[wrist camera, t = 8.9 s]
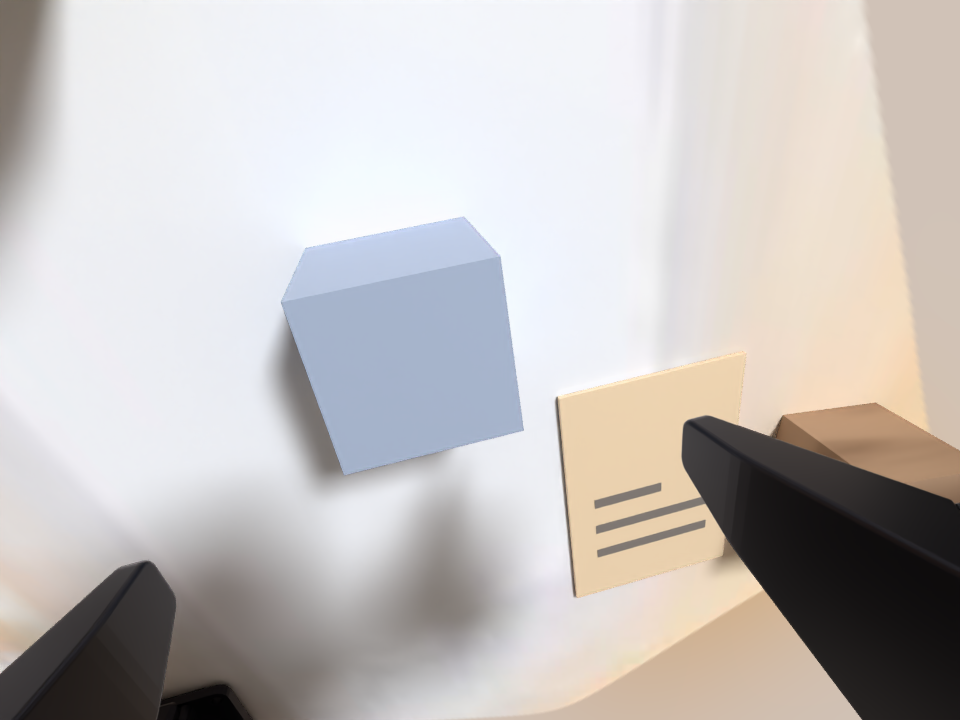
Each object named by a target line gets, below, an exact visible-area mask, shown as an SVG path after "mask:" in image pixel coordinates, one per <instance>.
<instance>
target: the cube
mask: <svg viewBox="0 0 960 720" xmlns="http://www.w3.org/2000/svg"><path fill="white" fill-rule="evenodd" d="M281 304H282V307H283V309H284V312H285V315H286V318H287V320H288V323H289V326H290V329H291V331H292V334H293V337H294V340H295V342H296V345H297V348H298V350H299V353H300V356H301V359H302V361H303V364H304V367H305V370H306V372H307V375H308V378H309V381H310V383H311V386H312V389H313V391H314V394H315V397H316V400H317V402H318V405H319V408H320V411H321V413H322V416H323V419H324V422H325V424H326V427H327V430H328V432H329V435H330V438H331V441H332V443H333V446H334V449H335V452H336V454H337V457H338V460H339V463H340V465H341V468H342V471H343V474H344V475H348V474H352V473H356V472H360V471H364V470H368V469H372V468H376V467H380V466H384V465H388V464H392V463H396V462H400V461H404V460H408V459H412V458H416V457H420V456H424V455H428V454H432V453H436V452H440V451H444V450H448V449H452V448H456V447H460V446H464V445H468V444H472V443H476V442H480V441H484V440H488V439H492V438H496V437H500V436H504V435H508V434H512V433H516V432H520V431H524V428H523V421H522V413H521V406H520V399H519V391H518V384H517V376H516V369H515V361H514V354H513V347H512V339H511V332H510V324H509V317H508V309H507V302H506V295H505V287H504V280H503V272H502V265H501V257H500V255H499V254H498V253H497V252H496V251H495V250H494V249H493V248H492V247H491V245H490V244H489V243H488V242H487V241H486V240H485V239H484V238H483V237H482V236H481V235H480V234H479V232H478V231H477V230H476V229H475V228H474V227H473V226H472V225H471V224H470V223H469V222H468V220H467V219H466V218H465V217H460V218H455V219H450V220H445V221H440V222H434V223H429V224H424V225H419V226H414V227H409V228H404V229H399V230H394V231H389V232H384V233H379V234H374V235H369V236H364V237H359V238H354V239H349V240H344V241H339V242H334V243H329V244H324V245H319V246H314V247H309V248H305V250H304V253H303V255H302V257H301V259H300V261H299V263H298V266H297V268H296V270H295V272H294V274H293V277H292V279H291V281H290V283H289V285H288V288H287V290H286V292H285V294H284V296H283V298H282V301H281Z"/></svg>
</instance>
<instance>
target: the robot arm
mask: <svg viewBox="0 0 960 720" xmlns="http://www.w3.org/2000/svg"><path fill="white" fill-rule="evenodd" d="M681 458H682V463H683V466H684V469H685V471H686V472H687V474H688V476H689V477H690V479H691V481H692V482H693V484H694V486H695V487H696V489H697V491H698V492H699V494H700V496H701V497H702V499H703V501H704V502H705V504H706V506H707V507H708V509H709V511H710V512H711V514H712V516H713V517H714V519H715V521H716V522H717V524H718V525H719V527H720V529H721V530H722V532H723V534H724V535H725V537H726V538H727V540H728V541H729V543H730V544H731V546H732V547H733V549H734V550H735V551H736V553H737V554H738V556H739V557H740V558H741V560H742V561H743V562H744V564H745V565H746V566H747V568H748V569H749V570H750V572H751V573H752V574H753V576H754V577H755V578H756V580H757V581H758V582H759V584H760V585H761V586H762V588H763V589H764V590H765V592H766V593H767V594H768V595H769V597H770V598H771V599H772V601H773V602H774V603H775V605H776V606H777V607H778V609H779V610H780V611H781V613H782V614H783V615H784V617H785V618H786V619H787V621H788V622H789V623H790V625H791V626H792V627H793V629H794V630H795V631H796V633H797V634H798V635H799V637H800V638H801V639H802V641H803V642H804V643H805V645H806V646H807V647H808V649H809V650H810V651H811V653H812V654H813V655H814V656H815V658H816V659H817V661H818V662H819V663H820V664H821V666H822V667H823V668H824V670H825V671H826V672H827V674H828V675H829V676H830V678H831V679H832V680H833V682H834V683H835V684H836V686H837V687H838V688H839V690H840V691H841V692H842V694H843V695H844V696H845V698H846V699H847V700H848V702H849V703H850V704H851V706H852V707H853V708H854V710H855V711H856V712H857V713H858V715H859V716H860V717H861V719H862V720H960V503H954V502H953V501H952V500H950V499H948V498H945V497H942V496H939V495H936V494H933V493H931V492H928V491H925V490H922V489H919V488H916V487H913V486H911V485H908V484H905V483H902V482H899V481H896V480H893V479H890V478H888V477H885V476H882V475H879V474H876V473H873V472H870V471H867V470H865V469H862V468H859V467H856V466H853V465H850V464H847V463H845V462H842V461H839V460H836V459H833V458H830V457H827V456H824V455H822V454H819V453H816V452H813V451H810V450H807V449H804V448H802V447H799V446H796V445H793V444H790V443H787V442H784V441H781V440H779V439H776V438H773V437H770V436H767V435H764V434H761V433H758V432H756V431H753V430H750V429H747V428H744V427H741V426H738V425H736V424H733V423H730V422H727V421H724V420H721V419H718V418H715V417H713V416H709V415H704V416H700V417H696V418H692V419H688V420H687V421H685V423H684V425H683V432H682V452H681ZM175 612H176V598H175V595H174V593H173V591H172V589H171V588H170V586H169V585H168V583H167V582H166V580H165V579H164V577H163V576H162V574H161V573H160V571H159V570H158V568H157V567H156V566H155V564H154V563H152V562H151V561H140V562H136V563H132V564H128V565H125V566H122V567H120V568H118V569H116V570H115V571H114V572H113V573H112V574H111V575H110V576H108V577H107V578H106V579H105V580H104V581H103V582H102V583H101V584H100V585H98V586H97V587H96V588H95V589H94V590H93V591H92V592H91V593H90V594H88V595H87V596H86V597H85V598H84V599H83V600H82V601H81V602H80V603H78V604H77V605H76V606H75V607H74V608H73V609H72V610H71V611H70V612H68V613H67V614H66V615H65V616H64V617H63V618H62V619H61V620H60V621H58V622H57V623H56V624H55V625H54V626H53V627H52V628H51V629H50V630H48V631H47V632H46V633H45V634H44V635H43V636H42V637H41V638H40V639H38V640H37V641H36V642H35V643H34V644H33V645H32V646H31V647H30V648H28V649H27V650H26V651H25V652H24V653H23V654H22V655H21V656H20V657H18V658H17V659H16V660H15V661H14V662H13V663H12V664H11V665H10V666H8V667H7V668H6V669H5V670H4V671H3V672H2V673H1V674H0V720H252V719H251V717H250V716H249V714H248V713H247V712H246V710H245V709H244V707H243V706H242V704H241V703H240V701H239V700H238V698H237V697H236V696H235V694H234V693H233V691H232V690H231V688H229V687H228V686H226V685H215V686H212V687H208V688H205V689H201V690H198V691H194V692H191V693H187V694H184V695H180V696H177V697H173V698H170V699H166V700H163V701H161V698H162V692H163V686H164V680H165V674H166V668H167V662H168V655H169V649H170V643H171V637H172V631H173V625H174V618H175Z"/></svg>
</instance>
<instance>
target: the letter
mask: <svg viewBox="0 0 960 720" xmlns="http://www.w3.org/2000/svg"><path fill="white" fill-rule="evenodd" d="M745 361H746V353H745V352H743V351H742V352H738V353H734V354H730V355H726V356H722V357H718V358H714V359H709V360H705V361H701V362H697V363H693V364H689V365H685V366H681V367H677V368H673V369H668V370H664V371H660V372H656V373H652V374H648V375H644V376H640V377H636V378H632V379H628V380H623V381H619V382H615V383H611V384H607V385H603V386H599V387H595V388H591V389H587V390H582V391H578V392H574V393H570V394H566V395H562V396H558V408H559V419H560V430H561V441H562V451H563V462H564V473H565V484H566V495H567V506H568V517H569V528H570V539H571V549H572V560H573V571H574V582H575V593H576V597H577V598H580V597H583V596H587V595H590V594H594V593H597V592H600V591H604V590H607V589H611V588H614V587H618V586H621V585H624V584H628V583H631V582H635V581H638V580H642V579H645V578H648V577H652V576H655V575H659V574H662V573H666V572H669V571H672V570H676V569H679V568H683V567H686V566H690V565H693V564H696V563H700V562H703V561H707V560H710V559H714V558H717V557H720V556H723V551H724V542H725V535H724V534H723V532H722V530H721V529H720V527H719V525H718V524H717V522H716V521H715V519H714V517H713V516H712V514H711V512H710V511H709V509H708V507H707V506H706V504H705V502H704V501H703V499H702V497H701V496H700V494H699V492H698V491H697V489H696V487H695V486H694V484H693V482H692V481H691V479H690V477H689V476H688V474H687V472H686V471H685V469H684V466H683V463H682V458H681V452H682V432H683V425H684V423H685V421H687V420H688V419H692V418H696V417H700V416H704V415H709V416H713V417H715V418H718V419H721V420H724V421H727V422H730V423H733V424H736V425H738V421H739V413H740V404H741V395H742V387H743V378H744V369H745Z"/></svg>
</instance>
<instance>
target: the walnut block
mask: <svg viewBox="0 0 960 720" xmlns="http://www.w3.org/2000/svg"><path fill="white" fill-rule="evenodd" d="M776 439H779V440H781V441H784V442H787V443H790V444H793V445H796V446H799V447H802V448H804V449H807V450H810V451H813V452H816V453H819V454H822V455H824V456H827V457H830V458H833V459H836V460H839V461H842V462H845V463H847V464H850V465H853V466H856V467H859V468H862V469H865V470H867V471H870V472H873V473H876V474H879V475H882V476H885V477H888V478H890V479H893V480H896V481H899V482H902V483H905V484H908V485H911V486H913V487H916V488H919V489H922V490H925V491H928V492H931V493H933V494H936V495H939V496H942V497H945V498H948V499H950V500H952V501H953V502H954V503H960V451H959V450H958V449H956V448H954V447H952V446H950V445H949V444H947V443H945V442H943V441H942V440H940V439H938V438H937V437H935V436H933V435H931V434H930V433H928V432H926V431H924V430H923V429H921V428H919V427H917V426H916V425H914V424H912V423H910V422H909V421H907V420H905V419H903V418H902V417H900V416H898V415H896V414H895V413H893V412H891V411H889V410H888V409H886V408H884V407H882V406H881V405H879V404H877V403H870V404H862V405H855V406H847V407H840V408H832V409H825V410H817V411H810V412H802V413H795V414H787V415H783V416H782V420H781V423H780V426H779V429H778V432H777V436H776Z"/></svg>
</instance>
